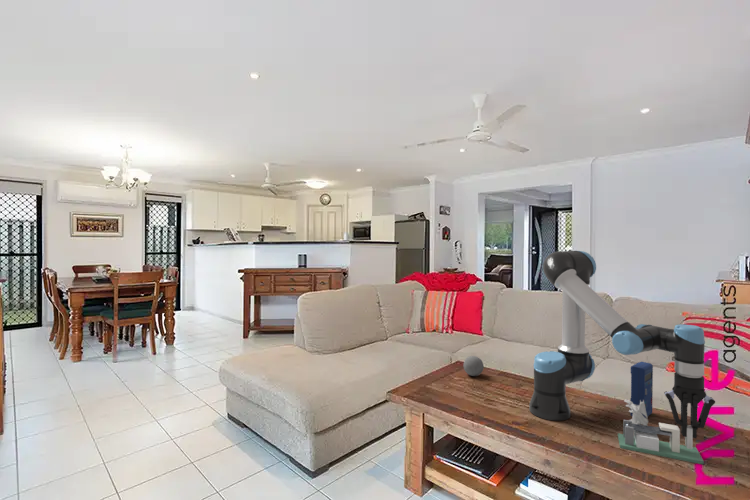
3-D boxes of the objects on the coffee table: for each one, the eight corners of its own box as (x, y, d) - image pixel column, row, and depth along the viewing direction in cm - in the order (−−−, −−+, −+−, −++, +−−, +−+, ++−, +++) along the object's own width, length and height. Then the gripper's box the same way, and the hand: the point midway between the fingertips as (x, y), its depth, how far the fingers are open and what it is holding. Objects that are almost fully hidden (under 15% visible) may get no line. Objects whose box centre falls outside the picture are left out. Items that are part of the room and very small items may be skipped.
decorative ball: (464, 378, 199) (464, 358, 199) (463, 371, 209) (462, 353, 208) (484, 379, 197) (484, 359, 197) (482, 372, 207) (482, 353, 207)
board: (620, 447, 132) (620, 427, 132) (617, 435, 140) (617, 416, 140) (703, 464, 122) (704, 442, 122) (696, 450, 130) (696, 430, 130)
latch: (660, 449, 129) (660, 427, 129) (658, 444, 132) (658, 422, 132) (679, 452, 127) (679, 430, 127) (677, 447, 130) (677, 425, 130)
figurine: (629, 422, 150) (630, 391, 150) (653, 430, 144) (653, 397, 144) (617, 430, 144) (617, 398, 143) (641, 439, 138) (641, 405, 137)
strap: (626, 430, 133) (625, 425, 133) (624, 425, 137) (624, 420, 137) (671, 437, 128) (671, 432, 128) (668, 432, 131) (668, 427, 131)
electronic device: (644, 420, 151) (644, 368, 151) (629, 416, 155) (629, 365, 155) (653, 413, 157) (653, 363, 157) (638, 409, 161) (639, 360, 161)
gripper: (711, 373, 127) (711, 445, 128) (662, 367, 133) (662, 437, 134) (718, 380, 120) (718, 457, 121) (666, 374, 126) (666, 447, 127)
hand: (688, 446), depth 127 cm, fingers closed
